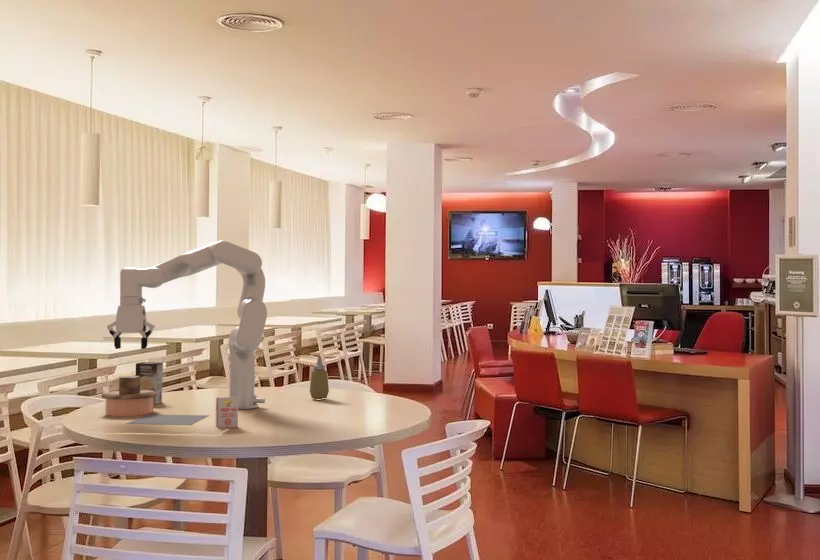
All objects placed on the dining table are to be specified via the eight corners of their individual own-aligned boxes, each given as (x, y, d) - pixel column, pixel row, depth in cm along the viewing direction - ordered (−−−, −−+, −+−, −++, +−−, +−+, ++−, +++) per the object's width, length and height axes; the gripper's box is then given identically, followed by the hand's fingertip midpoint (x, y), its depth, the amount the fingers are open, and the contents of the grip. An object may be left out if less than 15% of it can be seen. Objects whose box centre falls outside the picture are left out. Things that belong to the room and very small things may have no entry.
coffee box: (133, 403, 306) (134, 363, 306) (141, 401, 312) (141, 361, 312) (156, 404, 305) (156, 363, 305) (162, 402, 311) (163, 362, 311)
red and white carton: (215, 427, 255) (216, 396, 255) (236, 426, 257) (236, 396, 257) (216, 429, 251) (217, 398, 251) (237, 428, 253) (238, 397, 253)
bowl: (159, 410, 288) (159, 393, 288) (142, 417, 272) (142, 399, 272) (117, 410, 288) (117, 392, 289) (97, 417, 273) (98, 398, 273)
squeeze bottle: (307, 398, 324) (307, 356, 324) (325, 398, 327) (326, 355, 327) (312, 401, 317) (312, 357, 317) (331, 400, 320) (331, 357, 320)
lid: (164, 393, 289) (165, 374, 289) (144, 400, 270) (145, 380, 270) (115, 392, 290) (115, 373, 290) (92, 399, 271) (92, 379, 271)
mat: (209, 417, 274) (209, 415, 275) (190, 426, 255) (190, 425, 255) (149, 416, 276) (149, 414, 276) (125, 425, 256) (125, 423, 256)
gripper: (158, 301, 284) (158, 348, 284) (112, 301, 285) (112, 347, 285) (150, 301, 277) (150, 349, 276) (103, 301, 278) (103, 349, 277)
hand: (130, 348), depth 281 cm, fingers open, 9 cm apart
